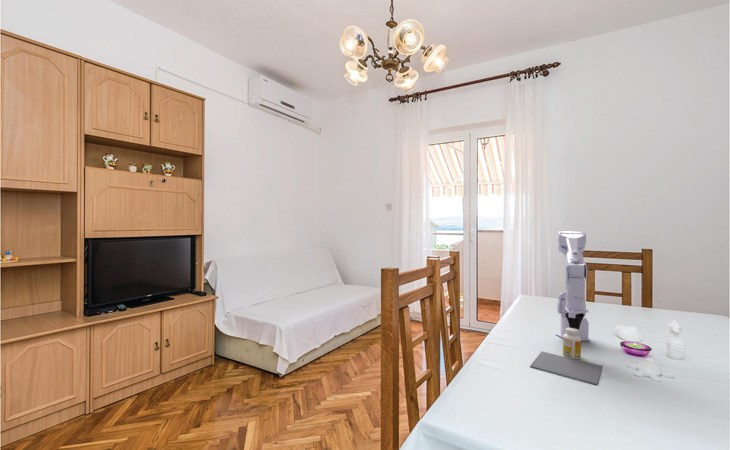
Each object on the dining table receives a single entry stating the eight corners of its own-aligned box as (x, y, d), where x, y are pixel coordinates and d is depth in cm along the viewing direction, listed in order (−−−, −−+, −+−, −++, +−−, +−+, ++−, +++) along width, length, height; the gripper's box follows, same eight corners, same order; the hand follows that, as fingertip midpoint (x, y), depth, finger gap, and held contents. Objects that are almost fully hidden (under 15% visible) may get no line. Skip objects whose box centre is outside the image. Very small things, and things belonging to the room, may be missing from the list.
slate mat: (541, 352, 121) (541, 351, 121) (602, 366, 109) (602, 365, 109) (530, 367, 109) (530, 365, 109) (596, 385, 97) (596, 383, 97)
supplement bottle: (579, 355, 119) (580, 328, 119) (582, 360, 114) (582, 332, 114) (562, 352, 121) (562, 326, 121) (563, 358, 116) (564, 330, 116)
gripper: (585, 301, 113) (584, 341, 113) (590, 294, 124) (590, 330, 124) (562, 298, 117) (561, 336, 118) (568, 291, 128) (568, 326, 129)
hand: (574, 333), depth 121 cm, fingers closed
